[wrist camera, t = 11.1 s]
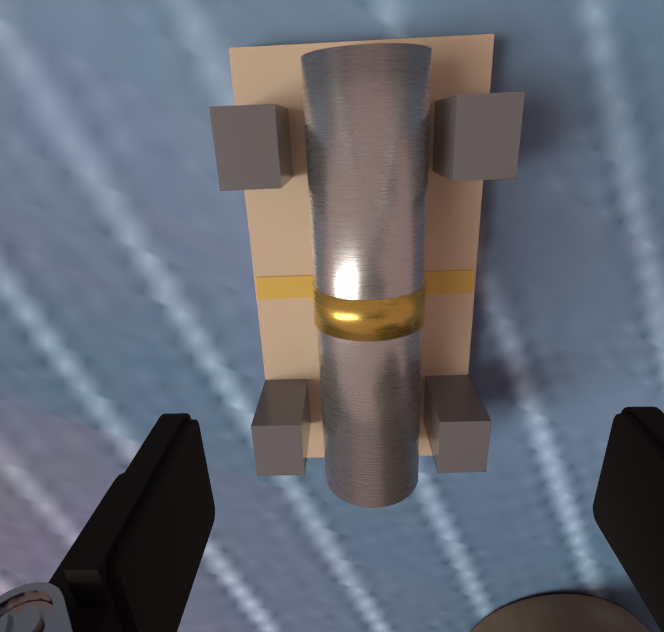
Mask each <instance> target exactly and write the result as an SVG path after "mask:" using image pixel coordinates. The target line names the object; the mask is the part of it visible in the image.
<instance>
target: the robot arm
mask: <svg viewBox="0 0 664 632" xmlns="http://www.w3.org/2000/svg"><path fill="white" fill-rule="evenodd" d="M593 514H594V518H595V521H596V523H597V525H598V526H599V528H600V530H601V531H602V533H603V534H604V536H605V538H606V539H607V541H608V543H609V544H610V546H611V548H612V549H613V551H614V553H615V554H616V556H617V558H618V559H619V561H620V563H621V564H622V566H623V568H624V569H625V571H626V573H627V574H628V576H629V578H630V579H631V581H632V583H633V584H634V586H635V588H636V589H637V591H638V593H639V594H640V596H641V598H642V599H643V601H644V603H645V604H646V606H647V608H648V609H649V611H650V613H651V614H652V616H653V618H654V619H655V621H656V623H657V624H658V626H659V628H660V629H661V631H662V632H664V413H663V412H662V411H661V410H660V409H658V408H657V407H626V408H624V409H623V410H622V412H621V414H617V415H616V416H615V417H614V420H613V424H612V428H611V432H610V436H609V440H608V445H607V449H606V453H605V457H604V461H603V465H602V470H601V474H600V478H599V482H598V486H597V491H596V495H595V499H594V503H593ZM214 518H215V505H214V500H213V495H212V490H211V485H210V479H209V474H208V469H207V464H206V459H205V453H204V448H203V443H202V438H201V433H200V427H199V423H198V421H197V420H191V417H190V415H189V414H187V413H179V414H162V415H161V416H160V418H159V419H158V421H157V422H156V424H155V426H154V427H153V429H152V430H151V432H150V433H149V435H148V437H147V438H146V440H145V441H144V443H143V444H142V446H141V448H140V449H139V451H138V452H137V454H136V456H135V457H134V459H133V460H132V462H131V463H130V465H129V467H128V468H127V470H126V471H125V473H122V474H120V475H119V476H118V477H117V478H116V479H115V480H114V482H113V484H112V485H111V487H110V488H109V490H108V491H107V493H106V494H105V496H104V497H103V499H102V501H101V502H100V504H99V505H98V507H97V508H96V510H95V511H94V513H93V514H92V516H91V518H90V519H89V521H88V522H87V524H86V525H85V527H84V528H83V530H82V531H81V533H80V535H79V536H78V538H77V539H76V541H75V542H74V544H73V545H72V547H71V548H70V550H69V552H68V553H67V555H66V556H65V558H64V559H63V561H62V562H61V564H60V565H59V567H58V569H57V570H56V572H55V573H54V575H53V576H52V578H51V579H50V581H49V582H48V583H43V582H36V583H30V584H25V585H22V586H20V587H17V588H15V589H12V590H10V591H8V592H6V593H5V594H3V595H1V596H0V632H177V630H178V627H179V624H180V621H181V618H182V615H183V612H184V609H185V606H186V603H187V600H188V597H189V594H190V591H191V588H192V585H193V582H194V579H195V576H196V573H197V571H198V568H199V565H200V562H201V559H202V556H203V553H204V550H205V547H206V544H207V541H208V538H209V535H210V532H211V529H212V526H213V523H214Z"/></svg>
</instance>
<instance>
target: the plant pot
mask: <svg viewBox="0 0 664 632" xmlns="http://www.w3.org/2000/svg"><path fill="white" fill-rule="evenodd" d="M471 632H650V631H649V630H648V629H647V628H646V627H645V626H644V625H643V624H642V623H641V622H640V621H639V620H638V619H637V618H636V617H635V616H633V615H632V614H631V613H629V612H628V611H627V610H625V609H623V608H622V607H620V606H618V605H616V604H613V603H611V602H609V601H606V600H603V599H599V598H596V597H592V596H586V595H579V594H551V595H543V596H536V597H532V598H528V599H523V600H520V601H517V602H515V603H512V604H509V605H507V606H505V607H503V608H501V609H499V610H496V611H495V612H493V613H492V614H490V615H489V616H487V617H486V618H484V619H483V620H482V621H480V622H479V623H478V624H477V625H476V626H475V627H474V629H473V630H472V631H471Z"/></svg>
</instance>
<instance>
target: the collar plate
mask: <svg viewBox="0 0 664 632" xmlns="http://www.w3.org/2000/svg"><path fill="white" fill-rule="evenodd" d="M372 43H407V44H418V45H424V46H428V47H430V48H432V71H431V102H430V132H429V162H428V192H427V223H426V253H425V279H426V281H427V291H426V319H425V324H424V325H423V343H422V374H421V404H420V434H419V455H433V459H434V463H435V467H436V470H437V473H451V472H486V467H487V457H488V447H489V438H490V428H491V420H490V418H489V416H488V414H487V412H486V410H485V408H484V406H483V404H482V402H481V400H480V398H479V396H478V394H477V392H476V390H475V388H474V386H473V384H472V382H471V380H470V378H469V375H468V370H469V357H470V344H471V331H472V318H473V305H474V292H475V279H476V266H477V253H478V240H479V227H480V214H481V201H482V188H483V180H495V179H516V175H517V166H518V156H519V146H520V137H521V127H522V117H523V107H524V98H525V91H523V92H503V93H490V85H491V72H492V59H493V46H494V34H478V35H460V36H441V37H423V38H404V39H386V40H367V41H349V42H330V43H312V44H293V45H275V46H256V47H238V48H229V56H230V65H231V74H232V83H233V92H234V101H235V106H217V107H209V108H210V115H211V123H212V131H213V138H214V146H215V154H216V161H217V169H218V177H219V184H220V191H231V190H245V199H246V208H247V217H248V226H249V235H250V244H251V253H252V262H253V271H254V280H255V289H256V298H257V307H258V316H259V325H260V334H261V343H262V352H263V361H264V370H265V379H266V380H265V383H264V386H263V390H262V393H261V396H260V399H259V402H258V406H257V409H256V412H255V415H254V418H253V421H252V425H251V430H252V437H253V445H254V453H255V460H256V468H257V476H271V475H305V469H306V461H307V458H309V457H324V441H323V424H322V408H321V391H320V374H319V358H318V341H317V327H316V326H315V323H314V311H313V295H312V282H313V281H314V275H313V258H312V242H311V225H310V208H309V192H308V175H307V158H306V142H305V125H304V109H303V92H302V75H301V59H300V57H301V56H302V55H303V54H305V53H308V52H311V51H315V50H319V49H324V48H330V47H337V46H346V45H356V44H372Z"/></svg>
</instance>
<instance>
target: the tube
mask: <svg viewBox="0 0 664 632" xmlns="http://www.w3.org/2000/svg"><path fill="white" fill-rule="evenodd" d="M300 59H301V75H302V92H303V109H304V125H305V142H306V158H307V175H308V192H309V208H310V225H311V242H312V258H313V275H314V281H313V282H312V295H313V311H314V323H315V326H316V327H317V341H318V358H319V374H320V391H321V408H322V424H323V441H324V457H325V474H326V481H327V484H328V486H329V488H330V489H331V491H332V492H333V493H334V494H335V495H336V496H338V497H339V498H340V499H342V500H344V501H346V502H348V503H350V504H353V505H357V506H361V507H369V508H377V507H385V506H390V505H393V504H396V503H398V502H400V501H402V500H404V499H405V498H406V497H408V496H409V495H410V494H411V493H412V492H413V490H414V489H415V487H416V485H417V482H418V464H419V434H420V404H421V374H422V343H423V325H424V324H425V319H426V291H427V281H426V279H425V253H426V223H427V192H428V162H429V132H430V102H431V71H432V48H430V47H428V46H424V45H418V44H407V43H372V44H356V45H346V46H337V47H330V48H324V49H319V50H315V51H311V52H308V53H305V54H303V55H302V56H301V57H300Z"/></svg>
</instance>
